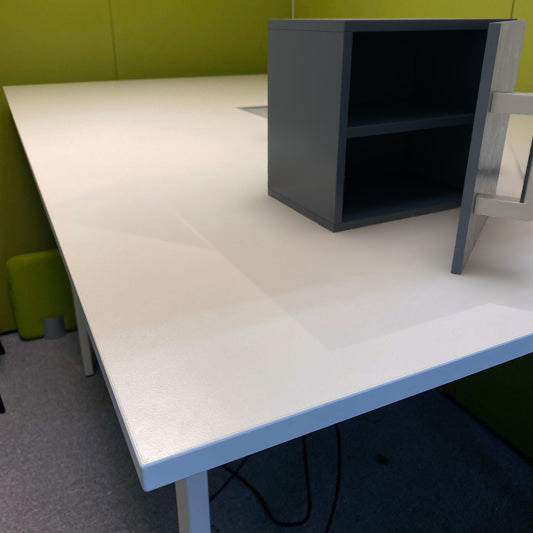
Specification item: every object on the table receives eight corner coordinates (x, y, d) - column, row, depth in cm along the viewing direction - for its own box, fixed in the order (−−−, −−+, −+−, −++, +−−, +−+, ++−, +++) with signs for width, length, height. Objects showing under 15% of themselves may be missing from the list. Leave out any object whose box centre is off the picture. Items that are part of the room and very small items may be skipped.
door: (538, 210, 76) (580, 20, 66) (521, 286, 55) (578, 23, 45) (486, 203, 79) (518, 19, 69) (450, 272, 58) (489, 22, 48)
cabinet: (485, 203, 79) (517, 18, 69) (333, 233, 69) (344, 20, 58) (404, 173, 94) (420, 17, 84) (267, 195, 83) (267, 18, 73)
